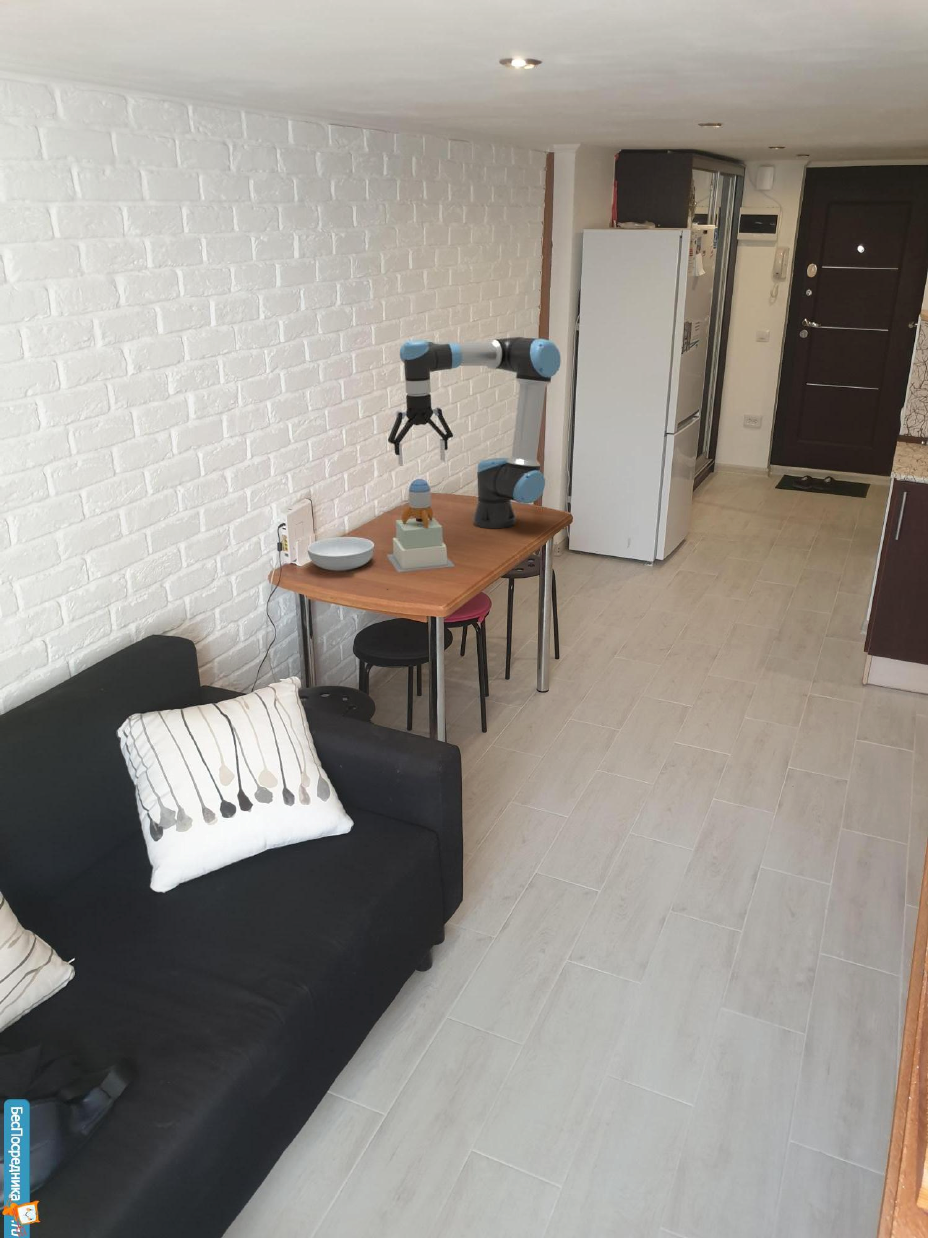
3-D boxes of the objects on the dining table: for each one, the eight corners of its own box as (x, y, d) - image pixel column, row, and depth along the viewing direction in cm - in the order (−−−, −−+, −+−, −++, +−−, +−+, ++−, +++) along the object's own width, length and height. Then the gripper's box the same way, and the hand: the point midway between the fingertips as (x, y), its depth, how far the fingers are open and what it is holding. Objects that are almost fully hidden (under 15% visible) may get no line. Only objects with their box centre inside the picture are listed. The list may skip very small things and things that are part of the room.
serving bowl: (387, 560, 304) (386, 539, 301) (354, 580, 286) (352, 559, 283) (331, 553, 312) (329, 533, 309) (295, 572, 294) (293, 551, 292)
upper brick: (433, 534, 304) (432, 516, 302) (442, 545, 294) (442, 526, 292) (396, 538, 301) (395, 520, 299) (404, 549, 291) (404, 530, 289)
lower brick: (435, 551, 308) (435, 533, 306) (446, 564, 295) (446, 546, 293) (393, 555, 304) (392, 537, 302) (402, 569, 292) (402, 550, 290)
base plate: (440, 552, 311) (440, 549, 310) (454, 569, 294) (454, 565, 294) (386, 557, 306) (386, 554, 306) (398, 575, 290) (397, 571, 290)
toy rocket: (434, 531, 290) (423, 486, 283) (401, 536, 293) (389, 491, 286) (440, 517, 299) (429, 473, 292) (408, 522, 302) (396, 478, 295)
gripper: (454, 388, 294) (456, 456, 302) (375, 395, 288) (380, 464, 296) (461, 392, 288) (463, 461, 296) (380, 399, 281) (385, 469, 289)
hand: (422, 462), depth 296 cm, fingers open, 13 cm apart
